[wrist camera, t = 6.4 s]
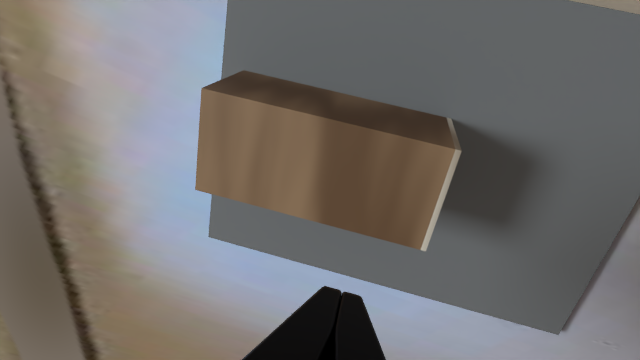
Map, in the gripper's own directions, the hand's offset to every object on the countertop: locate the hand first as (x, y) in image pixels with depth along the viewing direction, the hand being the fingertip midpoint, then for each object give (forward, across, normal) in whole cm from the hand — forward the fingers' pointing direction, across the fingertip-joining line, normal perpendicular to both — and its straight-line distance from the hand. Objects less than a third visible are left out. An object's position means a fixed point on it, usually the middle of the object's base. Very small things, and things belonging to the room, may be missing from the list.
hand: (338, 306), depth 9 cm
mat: (+11, -2, 0) cm, 11 cm away
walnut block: (+8, -3, 0) cm, 9 cm away
